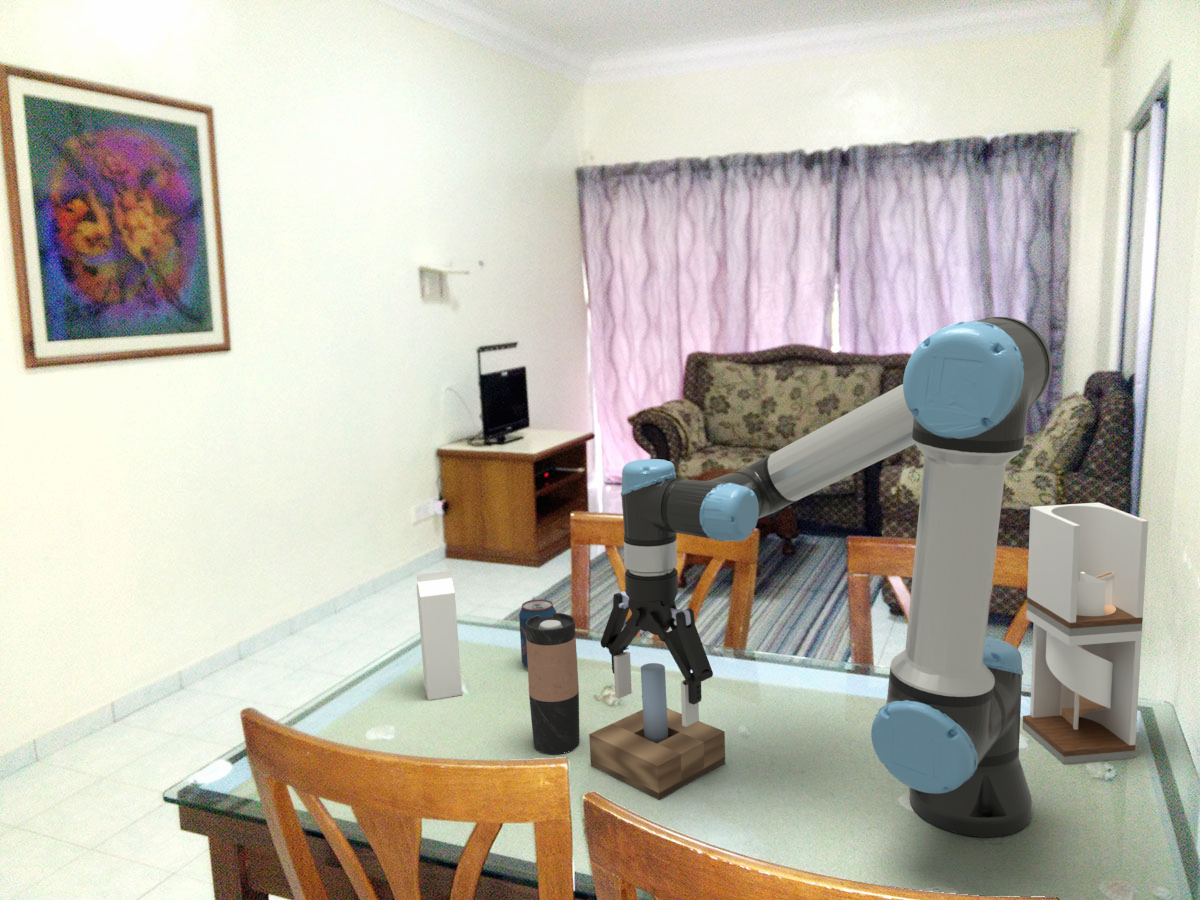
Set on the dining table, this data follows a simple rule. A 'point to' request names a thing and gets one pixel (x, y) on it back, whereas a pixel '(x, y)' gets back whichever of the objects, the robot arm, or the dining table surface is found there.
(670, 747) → the bore block
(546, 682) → the travel mug
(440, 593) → the milk
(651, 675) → the pin
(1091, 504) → the spiral staircase model
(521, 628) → the soda can
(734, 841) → the dining table surface
